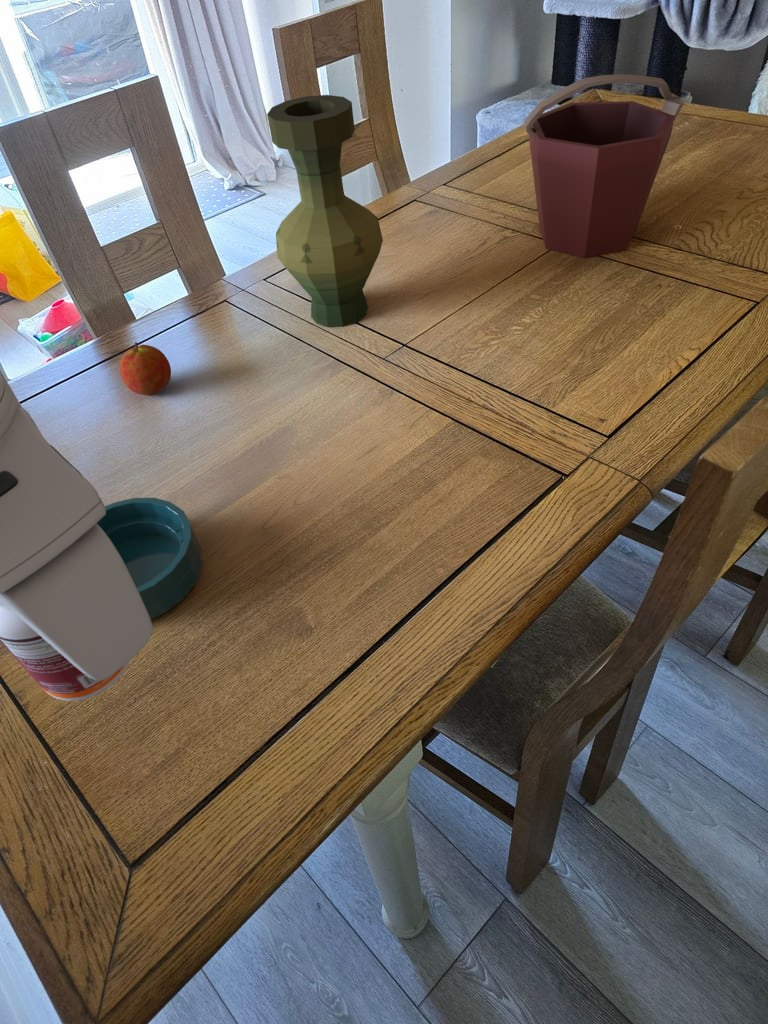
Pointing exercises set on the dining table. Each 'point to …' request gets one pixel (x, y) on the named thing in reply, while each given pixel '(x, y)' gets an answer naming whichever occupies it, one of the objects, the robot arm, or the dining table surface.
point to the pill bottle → (48, 662)
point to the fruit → (145, 370)
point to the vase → (324, 211)
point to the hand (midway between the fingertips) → (62, 626)
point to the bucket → (596, 165)
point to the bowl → (155, 549)
